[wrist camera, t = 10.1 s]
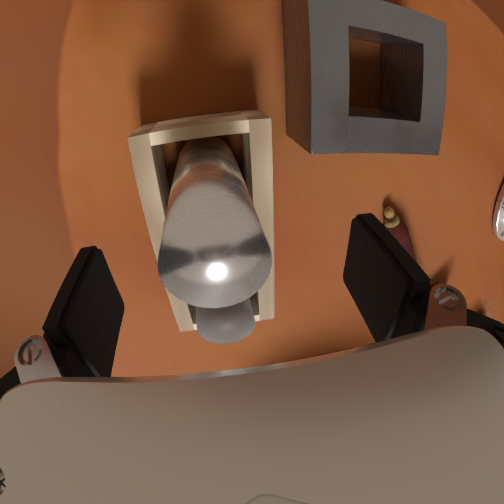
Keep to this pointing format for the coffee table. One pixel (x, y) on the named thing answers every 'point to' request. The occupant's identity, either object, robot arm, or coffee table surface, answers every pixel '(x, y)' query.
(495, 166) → the coffee table surface
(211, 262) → the silver metal cylinder
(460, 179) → the coffee table surface
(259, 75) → the coffee table surface
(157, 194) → the rack
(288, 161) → the coffee table surface
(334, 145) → the socket
